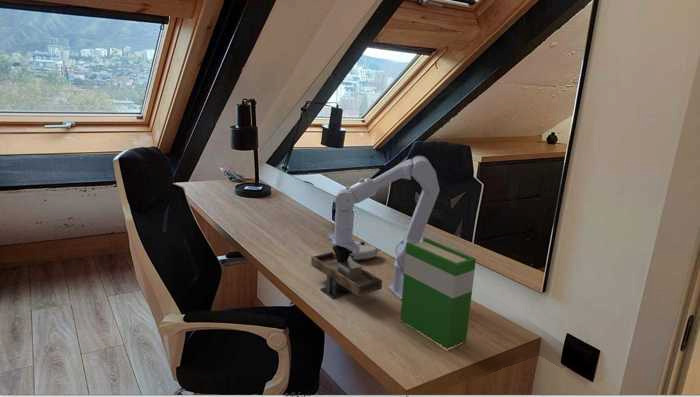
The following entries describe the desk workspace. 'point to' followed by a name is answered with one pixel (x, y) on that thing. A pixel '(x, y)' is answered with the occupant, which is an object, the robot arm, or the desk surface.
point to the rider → (350, 269)
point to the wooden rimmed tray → (359, 286)
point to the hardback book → (437, 291)
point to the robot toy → (364, 251)
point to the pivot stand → (334, 289)
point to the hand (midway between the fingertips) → (342, 267)
